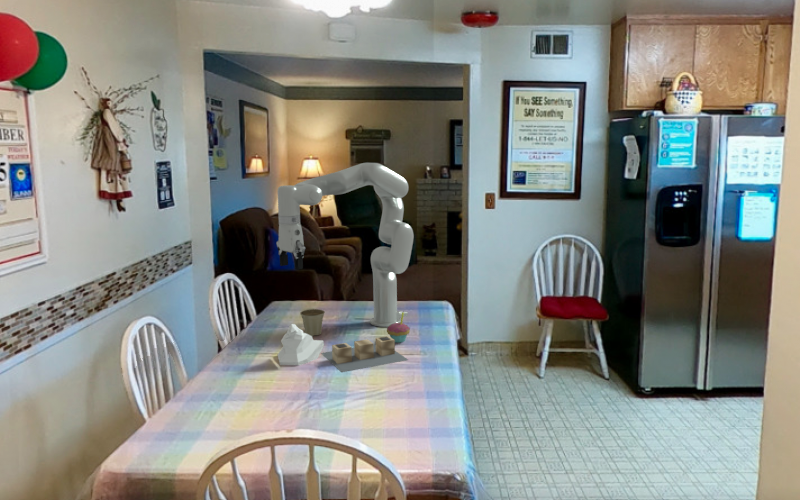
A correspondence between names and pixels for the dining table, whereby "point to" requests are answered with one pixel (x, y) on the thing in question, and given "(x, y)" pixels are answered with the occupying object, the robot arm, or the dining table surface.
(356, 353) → the plain block
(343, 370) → the mat
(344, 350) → the digit block
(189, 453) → the dining table surface
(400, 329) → the cupcake
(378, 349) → the digit block
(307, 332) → the flower pot
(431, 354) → the dining table surface
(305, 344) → the white faceted lump
